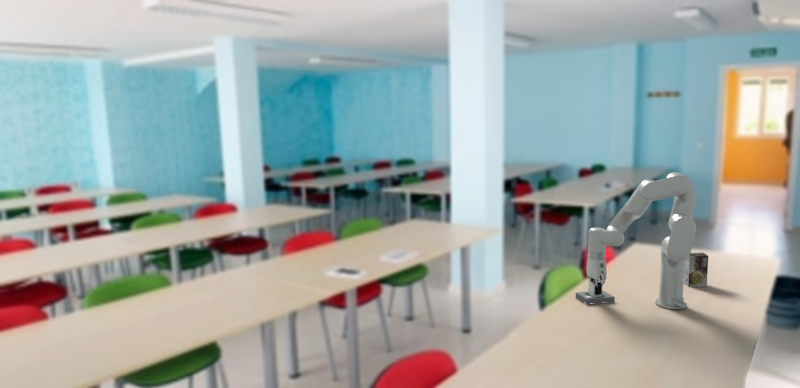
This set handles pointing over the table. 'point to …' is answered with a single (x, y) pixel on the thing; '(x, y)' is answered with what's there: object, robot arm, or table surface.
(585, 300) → the socket plate
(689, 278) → the coffee box
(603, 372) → the table surface
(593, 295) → the plug
